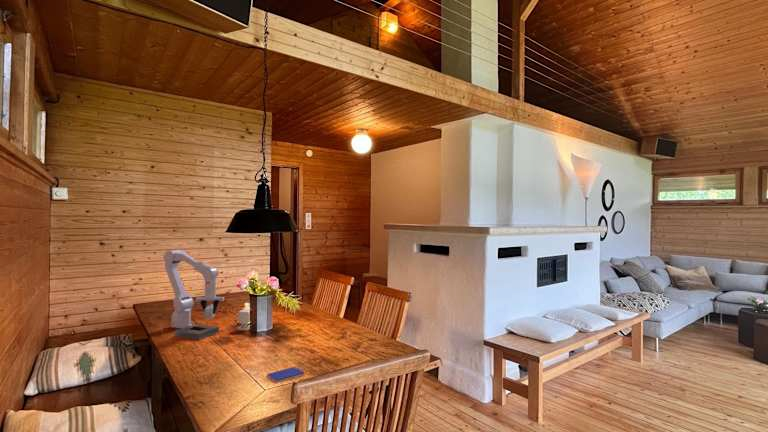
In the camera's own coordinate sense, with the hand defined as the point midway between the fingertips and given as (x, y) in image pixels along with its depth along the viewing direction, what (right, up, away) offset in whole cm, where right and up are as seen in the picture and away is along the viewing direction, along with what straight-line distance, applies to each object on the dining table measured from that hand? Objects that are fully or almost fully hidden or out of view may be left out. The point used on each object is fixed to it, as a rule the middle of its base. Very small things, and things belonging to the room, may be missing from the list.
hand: (209, 313), depth 221 cm
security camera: (+19, -9, +2) cm, 21 cm away
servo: (0, -2, 0) cm, 2 cm away
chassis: (-2, -8, -10) cm, 13 cm away
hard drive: (+58, -10, -61) cm, 85 cm away
